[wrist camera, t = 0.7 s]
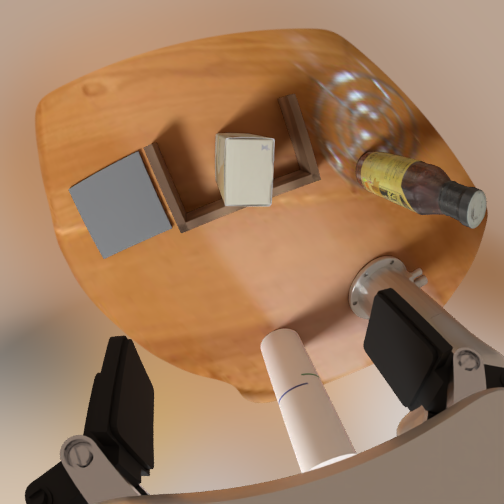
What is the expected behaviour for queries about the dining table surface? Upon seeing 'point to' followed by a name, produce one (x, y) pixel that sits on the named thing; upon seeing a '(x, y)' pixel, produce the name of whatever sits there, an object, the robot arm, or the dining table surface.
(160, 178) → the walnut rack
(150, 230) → the grey rubber mat
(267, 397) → the dining table surface
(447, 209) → the sauce bottle
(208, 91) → the dining table surface
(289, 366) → the cylindrical container
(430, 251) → the dining table surface
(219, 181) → the skincare box
